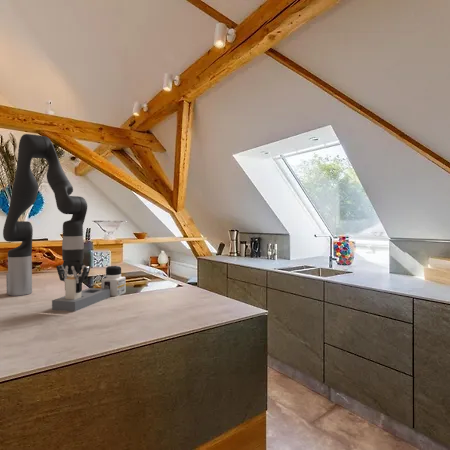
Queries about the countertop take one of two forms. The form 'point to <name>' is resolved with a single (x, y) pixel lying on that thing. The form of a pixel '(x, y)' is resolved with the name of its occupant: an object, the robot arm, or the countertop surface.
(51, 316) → the countertop surface
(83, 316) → the countertop surface
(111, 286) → the container
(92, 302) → the panel
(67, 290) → the plug peg
